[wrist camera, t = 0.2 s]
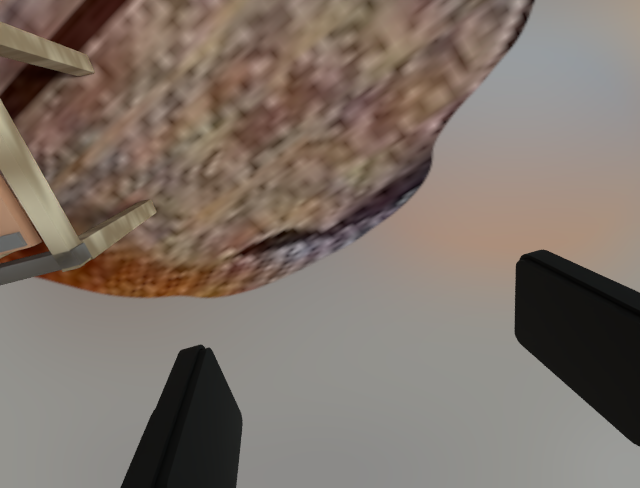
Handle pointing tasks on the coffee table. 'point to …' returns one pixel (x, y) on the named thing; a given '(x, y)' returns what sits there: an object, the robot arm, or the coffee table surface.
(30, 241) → the trapdoor
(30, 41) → the trapdoor frame
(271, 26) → the coffee table surface
